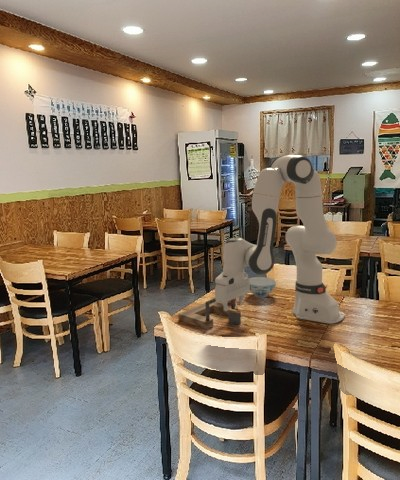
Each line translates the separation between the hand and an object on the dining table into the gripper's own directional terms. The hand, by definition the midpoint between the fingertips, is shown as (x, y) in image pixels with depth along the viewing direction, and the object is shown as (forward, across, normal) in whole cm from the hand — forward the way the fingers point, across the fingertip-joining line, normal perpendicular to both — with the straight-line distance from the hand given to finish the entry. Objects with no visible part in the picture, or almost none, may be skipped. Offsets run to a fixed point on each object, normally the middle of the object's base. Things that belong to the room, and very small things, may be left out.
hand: (233, 307), depth 173 cm
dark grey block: (+7, -1, 0) cm, 7 cm away
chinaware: (+6, -38, -10) cm, 40 cm away
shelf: (+7, +1, -13) cm, 15 cm away
